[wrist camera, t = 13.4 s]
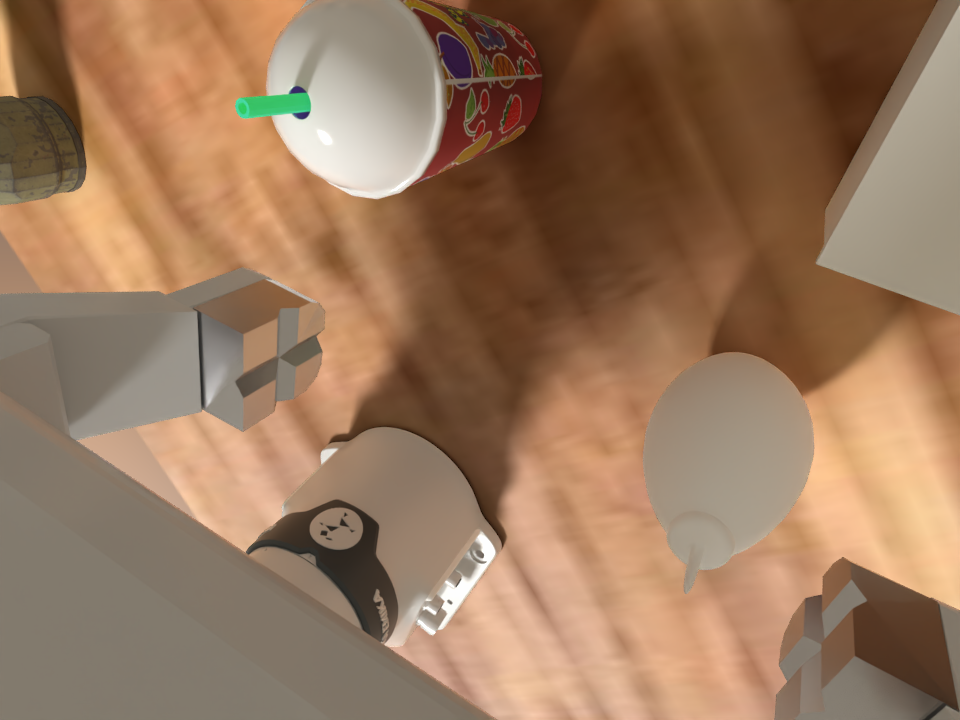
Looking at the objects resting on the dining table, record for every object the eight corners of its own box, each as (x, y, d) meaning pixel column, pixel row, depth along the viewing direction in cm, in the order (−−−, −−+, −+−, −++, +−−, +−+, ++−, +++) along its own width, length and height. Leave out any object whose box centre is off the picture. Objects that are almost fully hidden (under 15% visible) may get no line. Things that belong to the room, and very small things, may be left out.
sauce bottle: (737, 462, 39) (685, 696, 25) (649, 376, 40) (547, 559, 25) (846, 394, 35) (858, 635, 20) (745, 298, 35) (686, 468, 21)
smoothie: (543, -22, 33) (278, -91, 17) (579, 135, 36) (376, 202, 20) (421, 34, 38) (119, 21, 22) (460, 171, 40) (216, 250, 24)
